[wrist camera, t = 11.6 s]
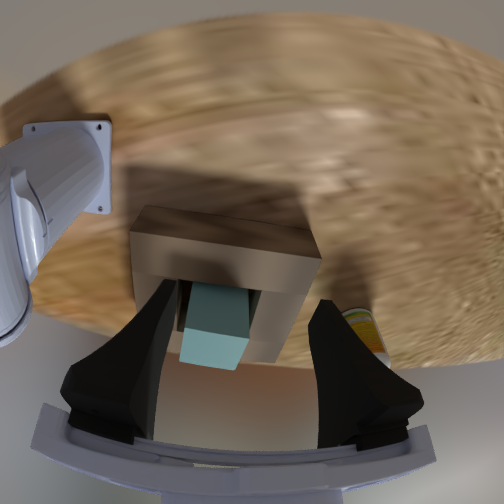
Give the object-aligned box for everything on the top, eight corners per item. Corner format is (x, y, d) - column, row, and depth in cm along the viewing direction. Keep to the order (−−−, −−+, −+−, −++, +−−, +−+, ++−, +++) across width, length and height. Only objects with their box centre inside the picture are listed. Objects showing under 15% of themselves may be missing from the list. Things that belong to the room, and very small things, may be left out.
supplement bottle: (321, 323, 31) (338, 398, 23) (360, 299, 29) (389, 374, 21) (342, 341, 33) (360, 408, 25) (378, 320, 31) (404, 387, 23)
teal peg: (190, 293, 27) (179, 361, 21) (197, 257, 25) (184, 327, 18) (235, 302, 28) (234, 370, 22) (247, 268, 26) (249, 338, 19)
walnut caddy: (150, 318, 29) (142, 346, 26) (145, 205, 22) (129, 231, 18) (271, 334, 31) (274, 363, 28) (311, 230, 23) (322, 259, 20)
